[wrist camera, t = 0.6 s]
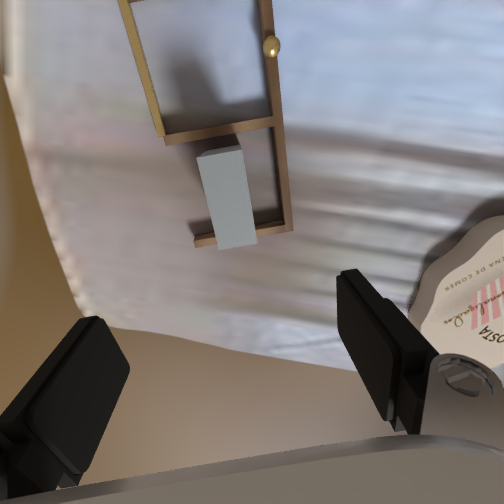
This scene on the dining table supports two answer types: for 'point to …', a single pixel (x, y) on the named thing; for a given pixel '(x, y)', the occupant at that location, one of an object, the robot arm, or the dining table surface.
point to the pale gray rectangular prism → (228, 196)
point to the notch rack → (275, 121)
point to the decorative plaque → (466, 296)
